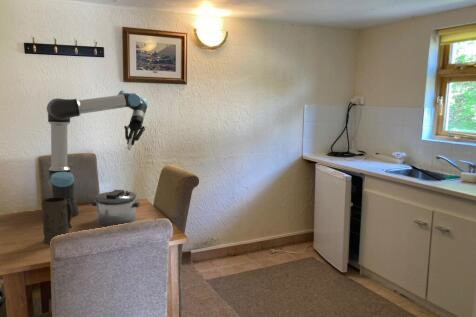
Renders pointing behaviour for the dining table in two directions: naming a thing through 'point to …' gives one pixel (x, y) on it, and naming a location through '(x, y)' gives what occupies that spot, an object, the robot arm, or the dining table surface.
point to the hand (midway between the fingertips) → (128, 148)
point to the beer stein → (56, 217)
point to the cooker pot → (116, 213)
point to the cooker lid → (115, 197)
